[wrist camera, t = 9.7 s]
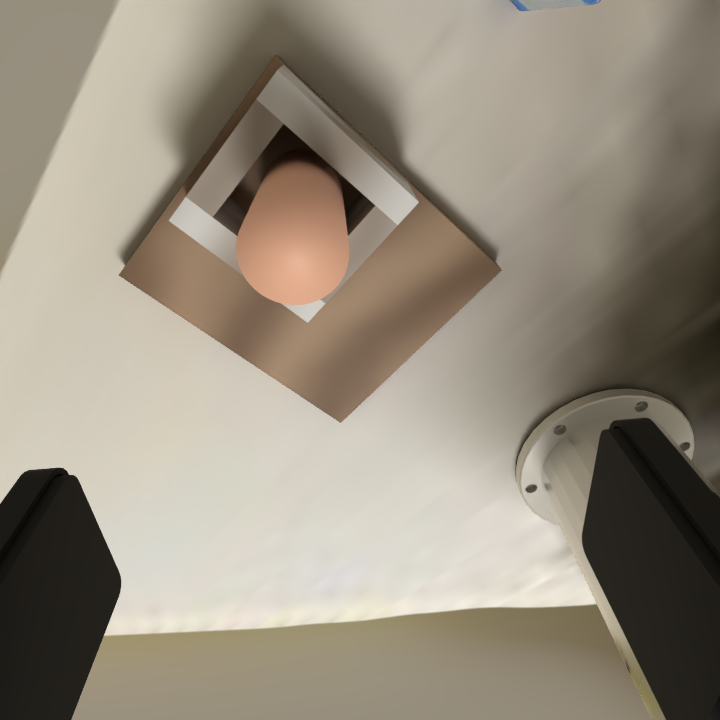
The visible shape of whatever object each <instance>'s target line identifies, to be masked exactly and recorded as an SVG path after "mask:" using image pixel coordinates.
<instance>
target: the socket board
mask: <svg viewBox="0 0 720 720" xmlns="http://www.w3.org/2000/svg"><path fill="white" fill-rule="evenodd" d="M296 149H306V150H311V151H315V152H316V153H317V154H318V155H319V156H321V157H322V158H323V159H324V160H325V161H326V162H327V163H328V164H330V165H331V166H332V167H333V168H334V169H335V170H336V171H337V172H338V174H339V177H340V180H341V185H342V192H343V200H344V208H345V217H346V225H347V233H348V241H349V253H350V255H349V263H348V267H347V270H346V273H345V275H344V277H343V279H342V281H341V282H340V283H339V285H338V286H337V287H336V288H335V289H334V290H333V291H332V292H331V293H329V294H328V295H327V296H325V297H324V298H322V299H320V300H318V301H315V302H312V303H309V304H303V305H287V304H282V303H278V302H275V301H272V300H270V299H268V298H266V297H264V296H263V295H261V294H260V293H259V292H257V291H256V290H255V289H254V288H253V287H252V286H251V285H250V284H249V283H248V281H247V280H246V279H245V277H244V275H243V274H242V272H241V269H240V267H239V264H238V260H237V254H236V242H237V236H238V233H239V230H240V228H241V225H242V223H243V221H244V219H245V217H246V215H247V213H248V211H249V208H250V206H251V204H252V202H253V200H254V198H255V196H256V194H257V191H258V189H259V187H260V185H261V183H262V181H263V179H264V177H265V175H266V172H267V170H268V168H269V167H270V165H271V164H272V163H273V161H274V160H275V159H277V158H278V157H279V156H280V155H282V154H284V153H286V152H288V151H291V150H296ZM500 271H501V269H500V267H499V266H498V264H497V263H496V262H495V261H494V260H493V259H492V258H491V257H490V256H489V255H488V254H487V253H485V252H484V251H483V250H482V249H481V248H480V247H479V246H478V245H477V244H476V243H475V242H474V241H473V240H472V239H471V238H470V237H469V236H467V235H466V234H465V233H464V232H463V231H462V230H461V229H460V228H459V227H458V226H457V225H456V224H455V223H454V222H453V221H452V220H451V219H449V218H448V217H447V216H446V215H445V214H444V213H443V212H442V211H441V210H440V209H439V208H438V207H437V206H436V205H435V204H434V203H433V202H431V201H430V200H429V199H428V198H427V197H426V196H425V195H424V194H423V193H422V192H421V191H420V190H419V189H418V188H417V187H416V186H415V185H413V184H412V183H411V182H410V181H409V180H408V179H407V178H406V177H405V176H404V175H403V174H402V173H401V172H400V171H399V170H398V169H397V168H395V167H394V166H393V165H392V164H391V163H390V162H389V161H388V160H387V159H386V158H385V157H384V156H383V155H382V154H381V153H380V152H379V151H377V150H376V149H375V148H374V147H373V146H372V145H371V144H370V143H369V142H368V141H367V140H366V139H365V138H364V137H363V136H362V135H361V134H359V133H358V132H357V131H356V130H355V129H354V128H353V127H352V126H351V125H350V124H349V123H348V122H347V121H346V120H345V119H344V118H343V117H341V116H340V115H339V114H338V113H337V112H336V111H335V110H334V109H333V108H332V107H331V106H330V105H329V104H328V103H327V102H326V101H325V100H323V99H322V98H321V97H320V96H319V95H318V94H317V93H316V92H315V91H314V90H313V89H312V88H311V87H310V86H309V85H308V84H307V83H305V82H304V81H303V80H302V79H301V78H300V77H299V76H298V75H297V74H296V73H295V72H294V71H293V70H292V69H291V68H290V67H289V66H287V65H286V64H285V63H284V62H283V61H282V60H281V59H280V58H279V57H278V56H277V55H276V56H275V57H274V58H273V60H272V61H271V62H270V64H269V65H268V67H267V68H266V69H265V71H264V72H263V74H262V75H261V76H260V78H259V79H258V81H257V82H256V83H255V85H254V86H253V88H252V89H251V90H250V92H249V93H248V95H247V96H246V97H245V99H244V100H243V102H242V103H241V104H240V106H239V107H238V109H237V110H236V111H235V113H234V114H233V116H232V117H231V119H230V120H229V121H228V123H227V124H226V126H225V127H224V128H223V130H222V131H221V133H220V134H219V135H218V137H217V138H216V140H215V141H214V142H213V144H212V145H211V147H210V148H209V149H208V151H207V152H206V154H205V155H204V156H203V158H202V159H201V161H200V162H199V163H198V165H197V166H196V168H195V169H194V170H193V172H192V173H191V175H190V176H189V177H188V179H187V180H186V182H185V183H184V184H183V186H182V187H181V189H180V190H179V191H178V193H177V194H176V196H175V197H174V198H173V200H172V201H171V203H170V204H169V205H168V207H167V208H166V210H165V211H164V212H163V214H162V215H161V217H160V218H159V219H158V221H157V222H156V224H155V225H154V226H153V228H152V229H151V231H150V232H149V233H148V235H147V236H146V238H145V239H144V240H143V242H142V243H141V245H140V246H139V247H138V249H137V250H136V252H135V253H134V254H133V256H132V257H131V259H130V260H129V261H128V263H127V264H126V266H125V267H124V268H123V270H122V271H121V273H120V274H119V276H121V277H122V278H124V279H125V280H127V281H128V282H130V283H131V284H133V285H134V286H136V287H137V288H139V289H140V290H142V291H143V292H145V293H146V294H148V295H149V296H151V297H152V298H154V299H155V300H157V301H158V302H160V303H161V304H163V305H164V306H166V307H167V308H169V309H170V310H172V311H173V312H175V313H176V314H178V315H179V316H181V317H182V318H184V319H185V320H187V321H188V322H190V323H191V324H193V325H194V326H196V327H197V328H199V329H200V330H202V331H203V332H205V333H206V334H208V335H209V336H211V337H212V338H214V339H215V340H217V341H218V342H220V343H221V344H223V345H224V346H226V347H227V348H229V349H230V350H232V351H233V352H235V353H236V354H238V355H239V356H241V357H242V358H244V359H245V360H247V361H248V362H250V363H251V364H253V365H254V366H256V367H257V368H259V369H261V370H262V371H264V372H265V373H267V374H268V375H270V376H271V377H273V378H274V379H276V380H277V381H279V382H280V383H282V384H283V385H285V386H286V387H288V388H289V389H291V390H292V391H294V392H295V393H297V394H298V395H300V396H301V397H303V398H304V399H306V400H307V401H309V402H310V403H312V404H313V405H315V406H316V407H318V408H319V409H321V410H322V411H324V412H325V413H327V414H328V415H330V416H331V417H333V418H334V419H336V420H337V421H339V422H340V423H341V422H342V421H343V420H344V419H345V418H346V417H348V416H349V415H350V414H351V413H352V412H353V411H354V410H355V409H356V408H357V407H358V406H359V405H360V404H361V403H362V402H363V401H364V400H365V399H366V398H368V397H369V396H370V395H371V394H372V393H373V392H374V391H375V390H376V389H377V388H378V387H379V386H380V385H381V384H382V383H383V382H384V381H385V380H387V379H388V378H389V377H390V376H391V375H392V374H393V373H394V372H395V371H396V370H397V369H398V368H399V367H400V366H401V365H402V364H403V363H404V362H405V361H407V360H408V359H409V358H410V357H411V356H412V355H413V354H414V353H415V352H416V351H417V350H418V349H419V348H420V347H421V346H422V345H423V344H424V343H425V342H427V341H428V340H429V339H430V338H431V337H432V336H433V335H434V334H435V333H436V332H437V331H438V330H439V329H440V328H441V327H442V326H443V325H444V324H445V323H447V322H448V321H449V320H450V319H451V318H452V317H453V316H454V315H455V314H456V313H457V312H458V311H459V310H460V309H461V308H462V307H463V306H464V305H465V304H467V303H468V302H469V301H470V300H471V299H472V298H473V297H474V296H475V295H476V294H477V293H478V292H479V291H480V290H481V289H482V288H483V287H484V286H486V285H487V284H488V283H489V282H490V281H491V280H492V279H493V278H494V277H495V276H496V275H497V274H498V273H499V272H500Z"/></svg>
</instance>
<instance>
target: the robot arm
mask: <svg viewBox="0 0 720 720" xmlns="http://www.w3.org/2000/svg"><path fill="white" fill-rule="evenodd" d="M694 447H695V443H694V433H693V430H692V428H691V425H690V422H689V421H688V420H687V419H686V417H685V416H684V415H683V413H682V412H681V411H680V410H679V409H678V408H677V407H676V406H675V405H674V404H673V403H672V402H671V401H669V400H667V399H665V398H664V397H662V396H660V395H658V394H655V393H652V392H648V391H645V390H637V389H628V388H627V389H611V390H606V391H601V392H597V393H592V394H590V395H587V396H584V397H581V398H579V399H576V400H574V401H572V402H570V403H568V404H566V405H565V406H563V407H561V408H559V409H558V410H556V411H555V412H554V413H552V414H551V415H550V416H548V417H547V418H545V419H544V420H543V421H542V422H541V423H540V424H539V425H538V426H537V427H536V428H535V429H534V430H533V432H532V433H531V434H530V436H529V437H528V439H527V440H526V442H525V443H524V445H523V447H522V449H521V452H520V454H519V456H518V461H517V466H516V480H517V484H518V487H519V490H520V492H521V494H522V496H523V499H524V501H525V503H526V504H527V505H528V507H529V508H530V509H531V510H532V511H533V512H534V513H535V514H537V515H538V516H539V517H541V518H542V519H544V520H546V521H549V522H551V523H553V524H556V525H560V527H561V529H562V531H563V534H564V536H565V538H566V540H567V542H568V544H569V546H570V548H571V550H572V553H573V555H574V557H575V559H576V561H577V563H578V565H579V567H580V569H581V571H582V574H583V576H584V578H585V580H586V582H587V584H588V586H589V588H590V590H591V593H592V595H593V597H594V599H595V601H596V603H597V605H598V607H599V609H600V611H601V613H602V616H603V618H604V620H605V622H606V624H607V626H608V628H609V630H610V632H611V635H612V637H613V639H614V641H615V643H616V645H617V647H618V649H619V651H620V654H621V656H622V658H623V660H624V662H625V664H626V666H627V668H628V670H629V673H630V674H631V676H632V678H633V680H634V682H635V684H636V686H637V689H638V691H639V693H640V695H641V697H642V699H643V702H644V703H645V706H646V708H647V710H648V712H649V714H650V716H651V718H652V720H720V493H719V492H718V491H717V490H716V489H715V488H714V486H713V485H712V484H711V483H710V482H709V481H708V479H707V478H706V477H705V476H704V475H703V474H702V472H701V471H700V470H699V469H698V468H697V467H696V465H695V464H694V463H693V462H692V461H691V460H692V458H693V452H694ZM120 590H121V576H120V573H119V571H118V568H117V566H116V564H115V562H114V559H113V557H112V555H111V553H110V550H109V548H108V546H107V544H106V541H105V539H104V537H103V535H102V532H101V530H100V528H99V525H98V523H97V521H96V519H95V516H94V514H93V512H92V510H91V507H90V505H89V503H88V501H87V498H86V496H85V494H84V492H83V489H82V487H81V485H80V483H79V480H78V479H77V477H76V476H74V475H69V474H68V472H67V471H66V470H65V469H63V468H50V469H38V470H28V471H26V472H24V473H23V474H22V475H21V476H20V477H19V479H18V480H17V482H16V483H15V484H14V486H13V487H12V488H11V490H10V491H9V493H8V494H7V495H6V497H5V498H4V500H3V501H2V502H1V504H0V720H71V719H72V716H73V714H74V711H75V708H76V706H77V703H78V701H79V698H80V695H81V693H82V690H83V688H84V685H85V683H86V680H87V677H88V675H89V672H90V670H91V667H92V664H93V662H94V659H95V657H96V654H97V651H98V649H99V646H100V644H101V641H102V638H103V636H104V633H105V631H106V628H107V626H108V623H109V620H110V618H111V615H112V613H113V610H114V608H115V605H116V602H117V600H118V597H119V594H120Z"/></svg>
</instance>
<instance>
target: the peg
mask: <svg viewBox="0 0 720 720" xmlns="http://www.w3.org/2000/svg"><path fill="white" fill-rule="evenodd" d="M236 254H237V260H238V264H239V267H240V269H241V272H242V274H243V275H244V277H245V279H246V280H247V281H248V283H249V284H250V285H251V286H252V287H253V288H254V289H255V290H256V291H257V292H259V293H260V294H261V295H263V296H264V297H266V298H268V299H270V300H272V301H275V302H278V303H282V304H287V305H303V304H309V303H312V302H315V301H318V300H320V299H322V298H324V297H325V296H327V295H328V294H329V293H331V292H332V291H333V290H334V289H335V288H336V287H337V286H338V285H339V283H340V282H341V281H342V279H343V277H344V275H345V273H346V270H347V267H348V263H349V255H350V253H349V241H348V233H347V225H346V217H345V208H344V200H343V192H342V185H341V180H340V177H339V174H338V172H337V171H336V170H335V169H334V168H333V167H332V166H331V165H330V164H328V163H327V162H326V161H325V160H324V159H323V158H322V157H321V156H319V155H318V154H317V153H316V152H315V151H311V150H306V149H296V150H291V151H288V152H286V153H284V154H282V155H280V156H279V157H278V158H277V159H275V160H274V161H273V163H272V164H271V165H270V167H269V168H268V170H267V172H266V175H265V177H264V179H263V181H262V183H261V185H260V187H259V189H258V191H257V194H256V196H255V198H254V200H253V202H252V204H251V206H250V208H249V211H248V213H247V215H246V217H245V219H244V221H243V223H242V225H241V228H240V230H239V233H238V236H237V242H236Z"/></svg>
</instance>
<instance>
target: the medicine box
mask: <svg viewBox="0 0 720 720" xmlns="http://www.w3.org/2000/svg"><path fill="white" fill-rule="evenodd" d="M510 1H511V2H512V3H513V4H514V5H515V6H516V7H517V9H518V10H520V11H531V10H541V9H548V8H560V7H571V6H583V5H591V4H597V3H599V2H600V1H601V0H510Z"/></svg>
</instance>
